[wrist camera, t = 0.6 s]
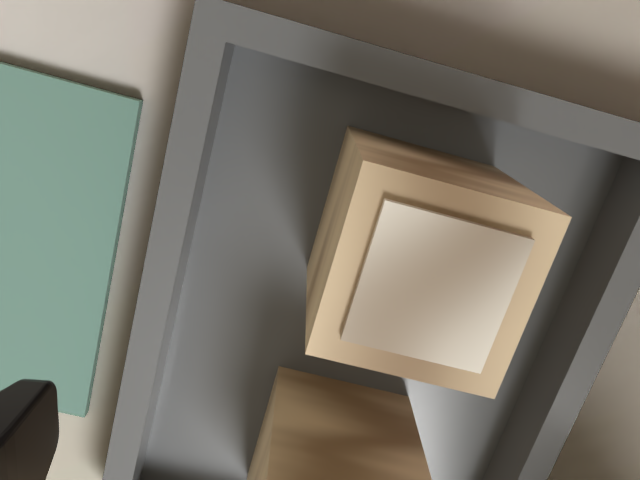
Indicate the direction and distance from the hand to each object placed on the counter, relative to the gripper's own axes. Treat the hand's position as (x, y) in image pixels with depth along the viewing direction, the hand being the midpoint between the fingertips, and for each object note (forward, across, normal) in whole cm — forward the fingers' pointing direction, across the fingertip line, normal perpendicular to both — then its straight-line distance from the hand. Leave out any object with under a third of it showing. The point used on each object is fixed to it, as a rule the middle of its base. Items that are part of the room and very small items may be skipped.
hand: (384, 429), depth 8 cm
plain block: (+11, -1, +10) cm, 15 cm away
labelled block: (+12, -2, +1) cm, 12 cm away
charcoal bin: (+12, -2, +5) cm, 13 cm away
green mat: (+13, +12, +3) cm, 18 cm away
